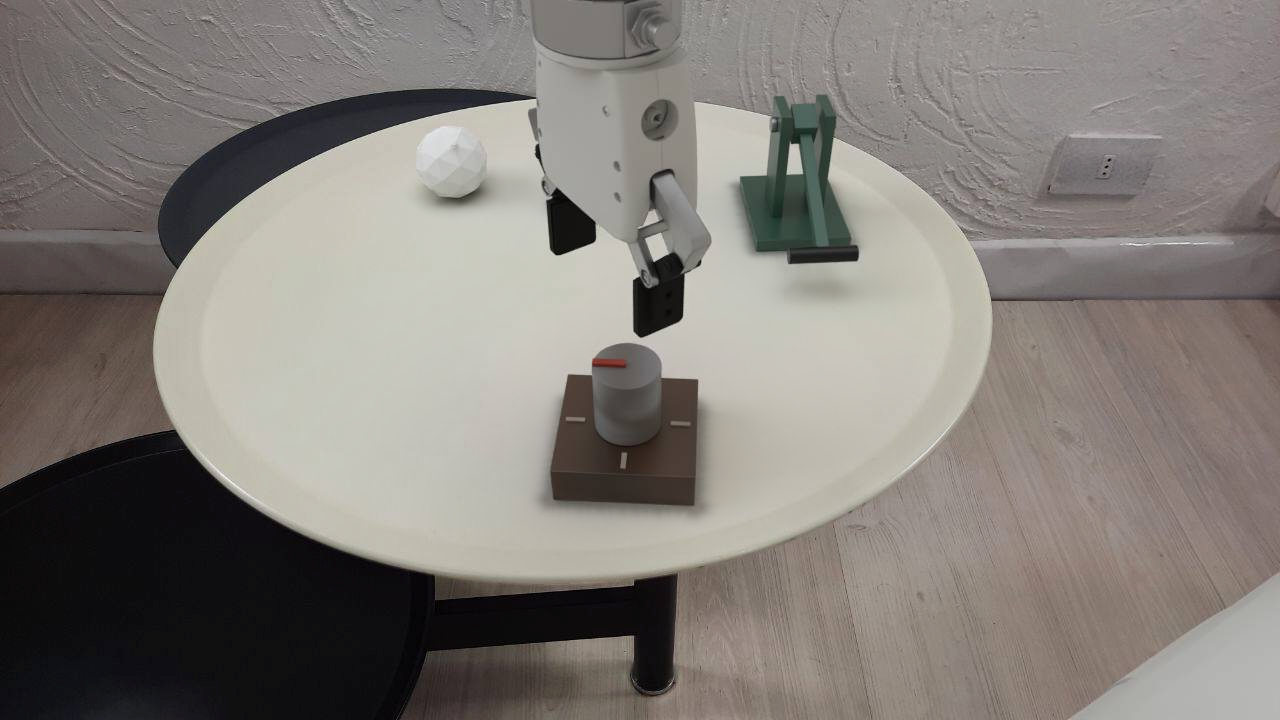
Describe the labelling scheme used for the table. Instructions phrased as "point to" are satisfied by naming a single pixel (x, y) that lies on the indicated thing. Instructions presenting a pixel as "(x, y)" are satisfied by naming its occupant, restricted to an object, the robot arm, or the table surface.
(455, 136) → the ornament
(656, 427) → the dial
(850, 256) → the lever
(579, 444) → the panel
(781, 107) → the bracket
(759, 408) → the table surface
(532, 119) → the robot arm
